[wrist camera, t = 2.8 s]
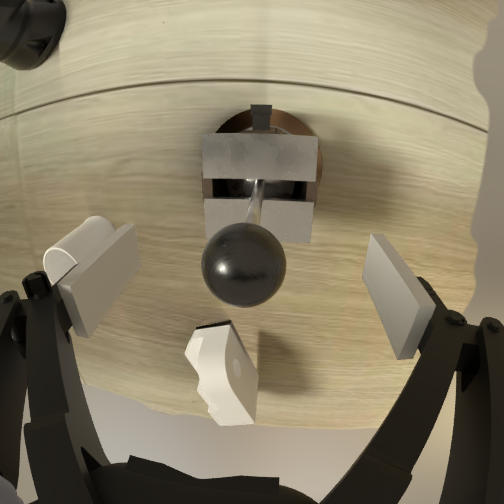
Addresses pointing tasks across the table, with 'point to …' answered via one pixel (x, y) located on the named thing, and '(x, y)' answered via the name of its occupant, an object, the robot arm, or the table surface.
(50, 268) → the mug
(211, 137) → the wooden tankard
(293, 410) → the table surface
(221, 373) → the tape dispenser
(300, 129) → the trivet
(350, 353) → the table surface
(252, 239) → the plunger
